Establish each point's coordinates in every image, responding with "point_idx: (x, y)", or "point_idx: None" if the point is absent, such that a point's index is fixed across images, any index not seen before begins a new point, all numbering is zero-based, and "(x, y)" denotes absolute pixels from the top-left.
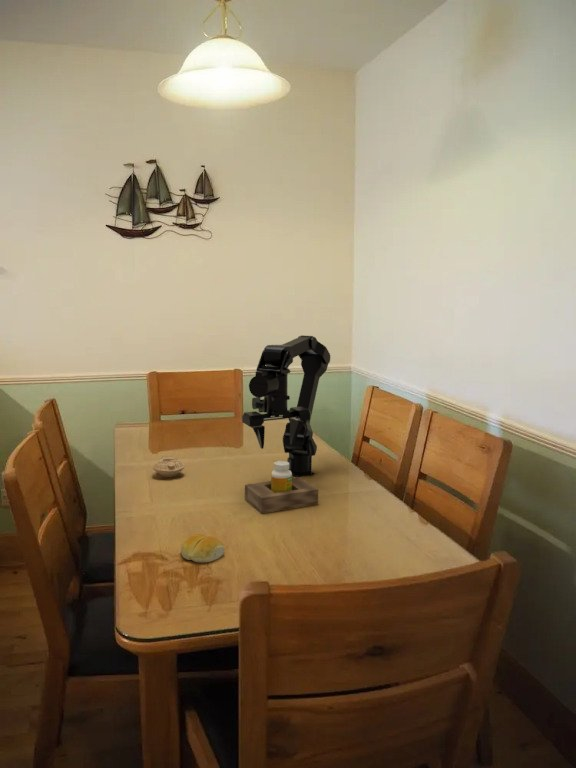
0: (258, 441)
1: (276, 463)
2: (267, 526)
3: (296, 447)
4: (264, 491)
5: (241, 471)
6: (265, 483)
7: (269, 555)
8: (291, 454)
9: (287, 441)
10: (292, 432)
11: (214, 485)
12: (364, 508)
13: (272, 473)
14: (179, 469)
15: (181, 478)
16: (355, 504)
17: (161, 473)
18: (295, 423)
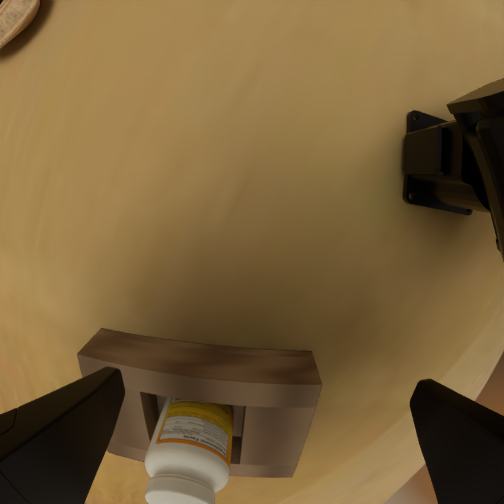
0: (62, 394)
1: (153, 501)
2: (119, 461)
3: (495, 222)
4: (125, 431)
5: (230, 18)
6: (151, 384)
7: (105, 497)
8: (461, 154)
9: (496, 165)
10: (461, 474)
11: (60, 142)
12: (357, 475)
13: (145, 466)
14: (5, 41)
15: (27, 47)
16: (362, 461)
17: None
18: None
